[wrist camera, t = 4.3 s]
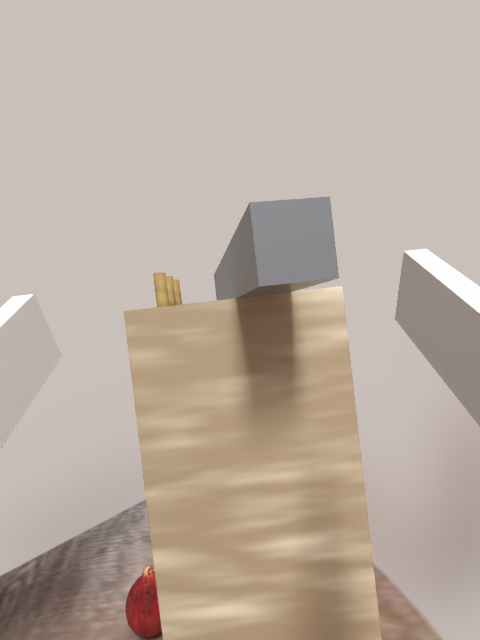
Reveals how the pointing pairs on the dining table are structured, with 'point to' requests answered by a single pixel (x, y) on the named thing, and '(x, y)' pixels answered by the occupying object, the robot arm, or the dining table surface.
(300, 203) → the bar
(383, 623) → the dining table surface
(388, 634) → the dining table surface
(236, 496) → the shelf stand
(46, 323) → the robot arm
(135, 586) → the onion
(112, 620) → the dining table surface
